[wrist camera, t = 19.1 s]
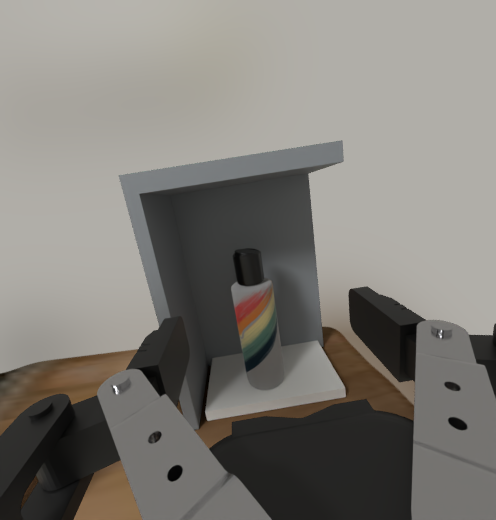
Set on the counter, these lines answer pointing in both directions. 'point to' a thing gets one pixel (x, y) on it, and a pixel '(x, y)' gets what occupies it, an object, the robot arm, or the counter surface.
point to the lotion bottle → (257, 321)
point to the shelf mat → (285, 395)
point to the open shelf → (228, 248)
